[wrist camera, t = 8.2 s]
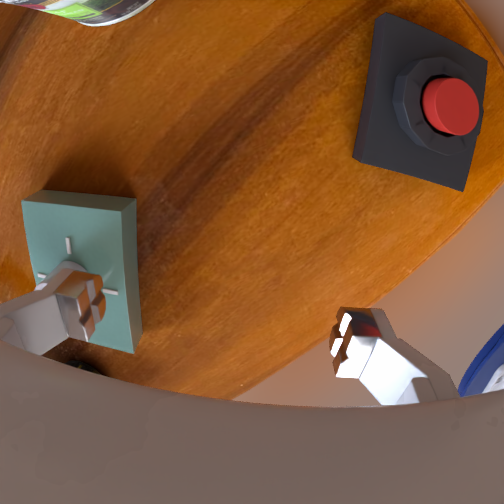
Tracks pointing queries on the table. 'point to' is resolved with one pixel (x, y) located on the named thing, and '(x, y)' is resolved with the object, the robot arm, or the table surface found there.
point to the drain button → (450, 105)
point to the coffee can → (88, 9)
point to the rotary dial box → (91, 253)
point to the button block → (415, 103)
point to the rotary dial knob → (56, 270)
